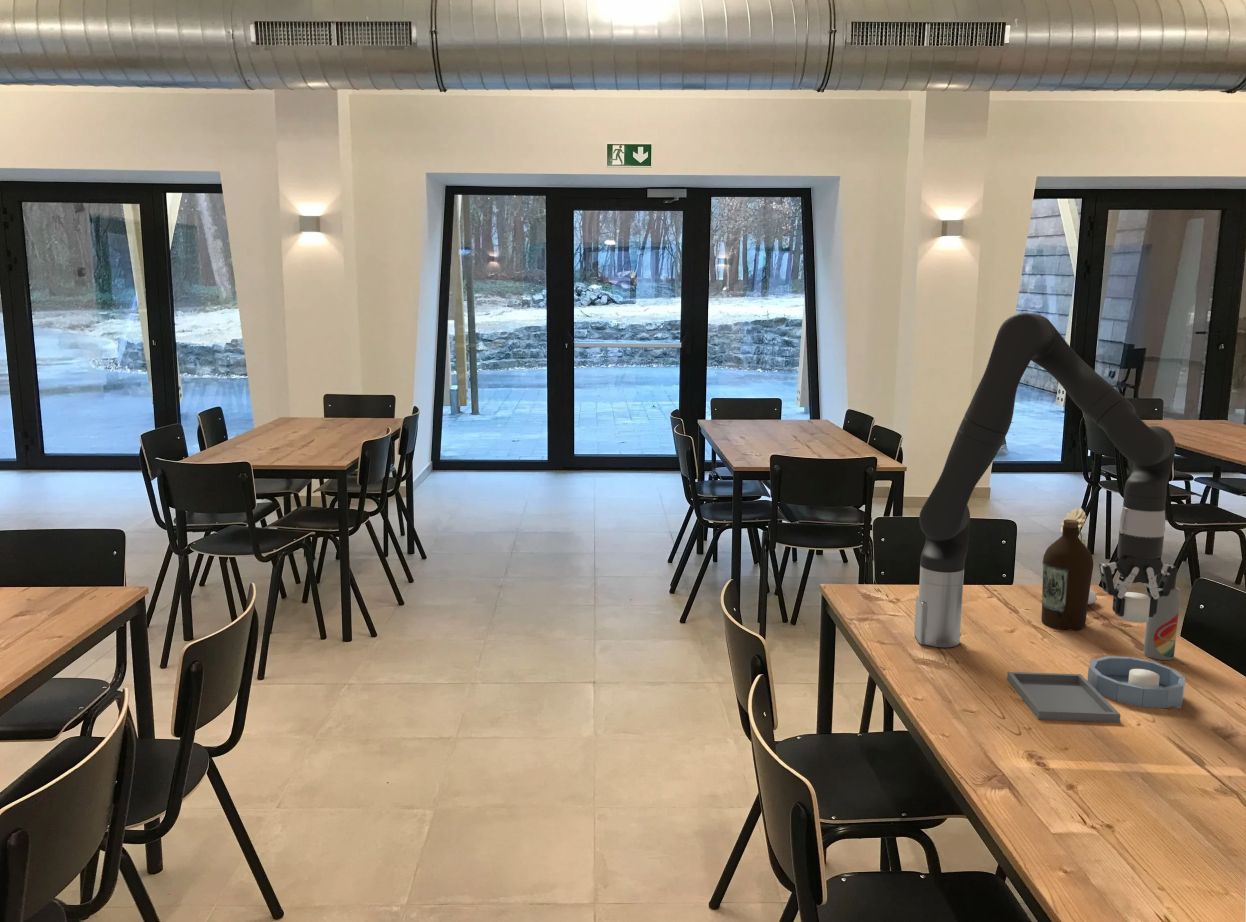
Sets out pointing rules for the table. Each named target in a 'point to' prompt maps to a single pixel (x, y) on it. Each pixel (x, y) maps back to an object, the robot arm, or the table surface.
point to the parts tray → (1062, 697)
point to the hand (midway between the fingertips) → (1133, 615)
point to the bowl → (1113, 684)
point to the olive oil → (1066, 580)
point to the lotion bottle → (1163, 625)
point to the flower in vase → (1081, 518)
